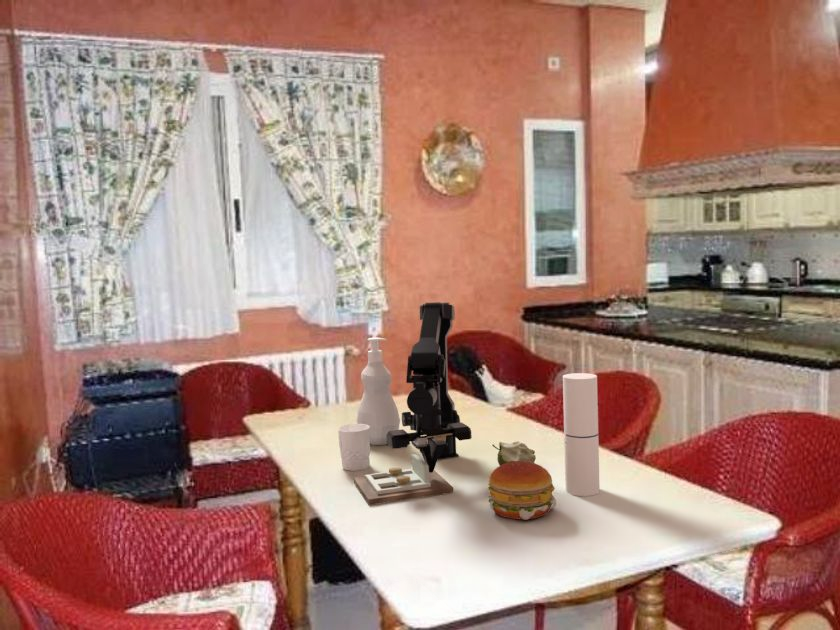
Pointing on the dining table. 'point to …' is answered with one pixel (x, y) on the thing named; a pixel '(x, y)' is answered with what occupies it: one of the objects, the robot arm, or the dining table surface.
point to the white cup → (354, 446)
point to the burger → (521, 490)
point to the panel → (416, 474)
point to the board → (372, 497)
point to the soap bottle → (377, 397)
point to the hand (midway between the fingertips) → (430, 472)
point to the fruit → (514, 453)
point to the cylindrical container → (581, 434)
